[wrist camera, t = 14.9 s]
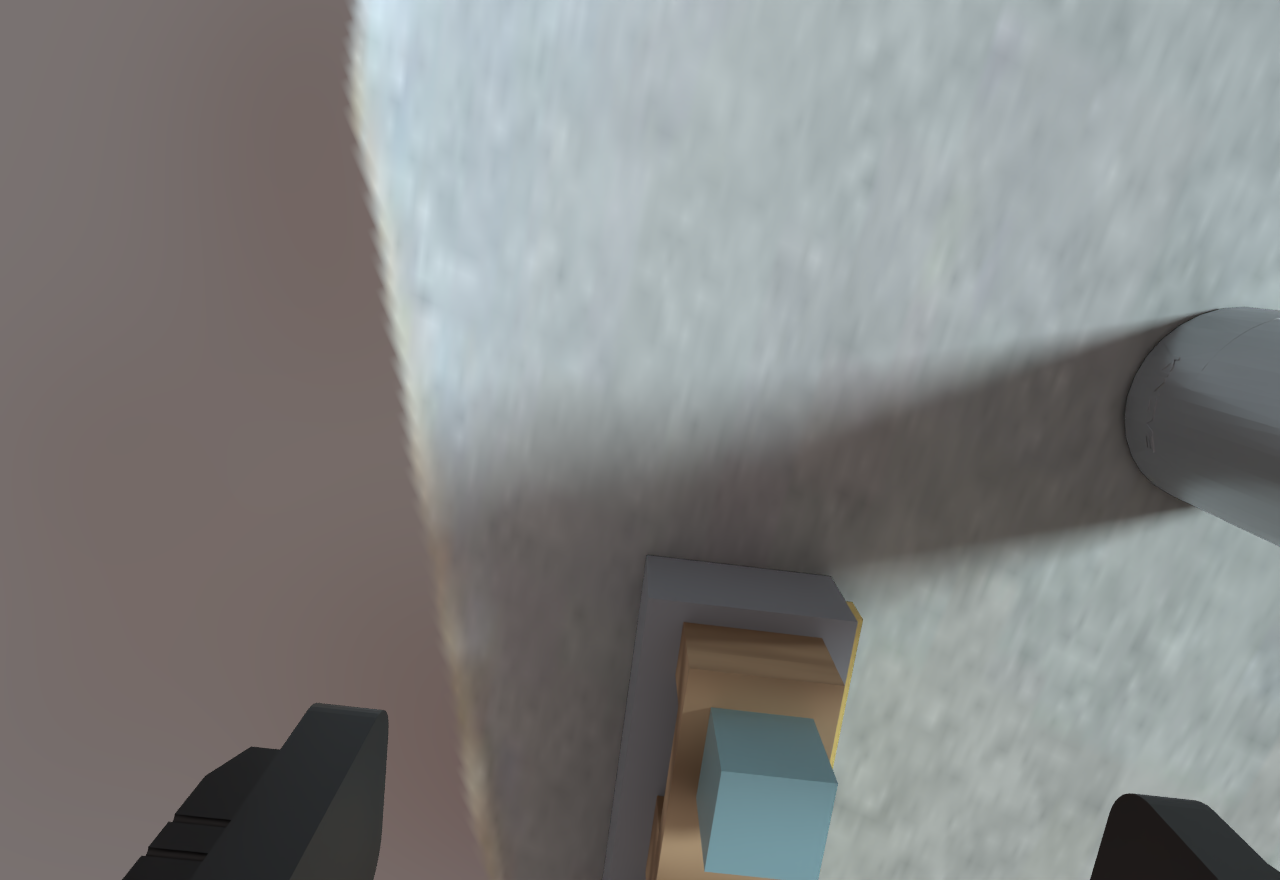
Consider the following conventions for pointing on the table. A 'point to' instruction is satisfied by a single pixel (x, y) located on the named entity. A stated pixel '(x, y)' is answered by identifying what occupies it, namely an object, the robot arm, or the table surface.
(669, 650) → the dock
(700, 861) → the board
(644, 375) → the table surface
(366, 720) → the robot arm
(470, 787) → the table surface
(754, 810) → the block
